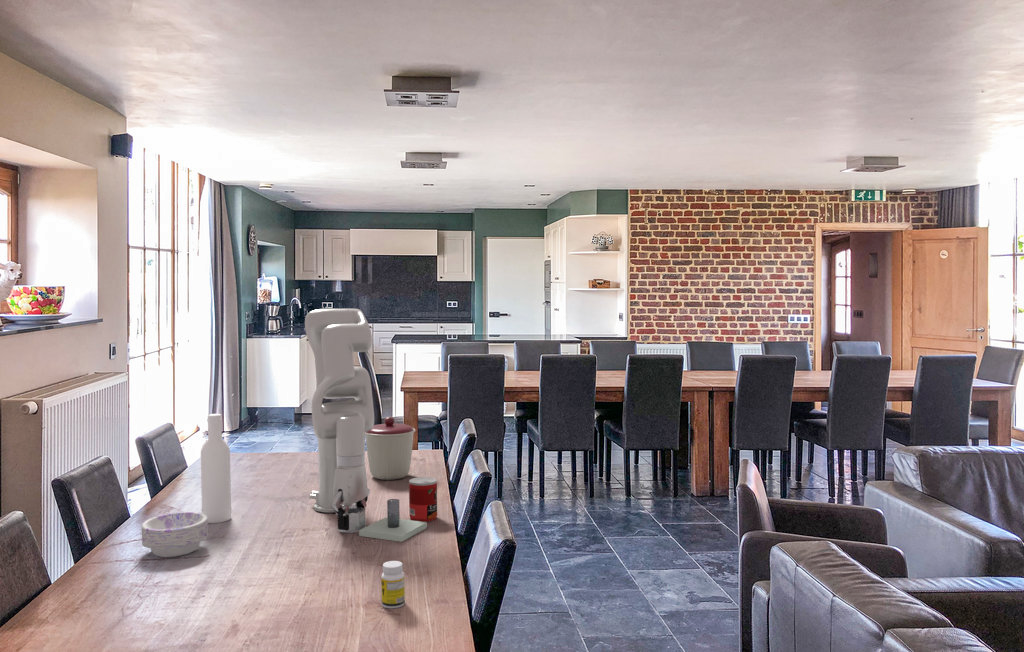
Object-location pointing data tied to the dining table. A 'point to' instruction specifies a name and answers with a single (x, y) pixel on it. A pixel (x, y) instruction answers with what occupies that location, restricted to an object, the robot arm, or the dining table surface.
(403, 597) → the supplement bottle
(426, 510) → the canned food
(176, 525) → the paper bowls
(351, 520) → the metal ring
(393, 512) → the steel post
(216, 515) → the bottle
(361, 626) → the dining table surface
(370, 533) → the green board
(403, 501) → the dining table surface
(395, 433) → the canister
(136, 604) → the dining table surface
